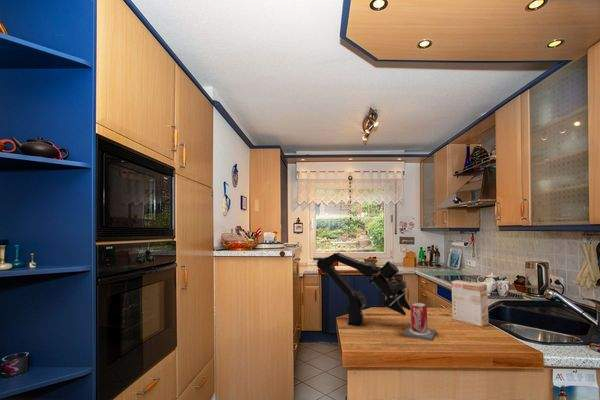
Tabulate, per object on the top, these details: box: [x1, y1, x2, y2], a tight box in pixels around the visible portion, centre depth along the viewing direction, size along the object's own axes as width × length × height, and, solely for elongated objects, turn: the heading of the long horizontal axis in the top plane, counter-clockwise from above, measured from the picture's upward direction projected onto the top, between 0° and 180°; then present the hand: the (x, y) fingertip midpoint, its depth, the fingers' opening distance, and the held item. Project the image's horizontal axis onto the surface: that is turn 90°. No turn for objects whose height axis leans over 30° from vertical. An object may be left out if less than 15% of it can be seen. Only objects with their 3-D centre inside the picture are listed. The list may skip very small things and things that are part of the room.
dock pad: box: [402, 325, 437, 341], centre depth 152 cm, size 12×12×1 cm
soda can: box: [410, 302, 428, 333], centre depth 152 cm, size 7×7×12 cm
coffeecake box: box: [450, 279, 490, 327], centre depth 169 cm, size 15×7×20 cm, turn 34°
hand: (407, 312), depth 155 cm, fingers open, 9 cm apart
